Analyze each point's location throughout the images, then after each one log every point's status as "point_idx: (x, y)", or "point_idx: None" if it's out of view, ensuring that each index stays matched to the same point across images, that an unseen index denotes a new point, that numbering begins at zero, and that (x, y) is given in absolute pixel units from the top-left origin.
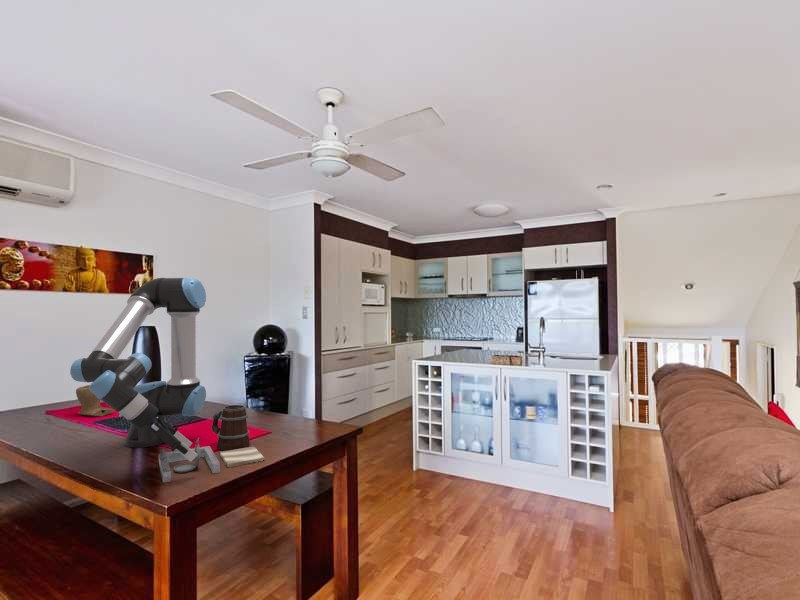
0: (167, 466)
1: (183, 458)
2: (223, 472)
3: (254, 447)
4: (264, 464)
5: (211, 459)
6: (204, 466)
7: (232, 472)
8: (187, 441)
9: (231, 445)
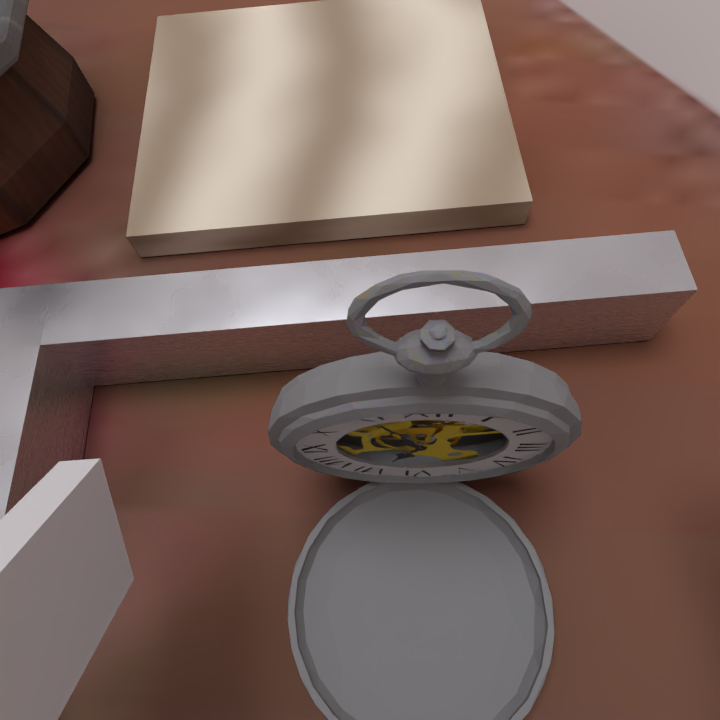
0: None
1: None
2: None
3: (188, 15)
4: (549, 18)
5: None
6: None
7: (664, 201)
8: (59, 540)
9: (53, 130)
